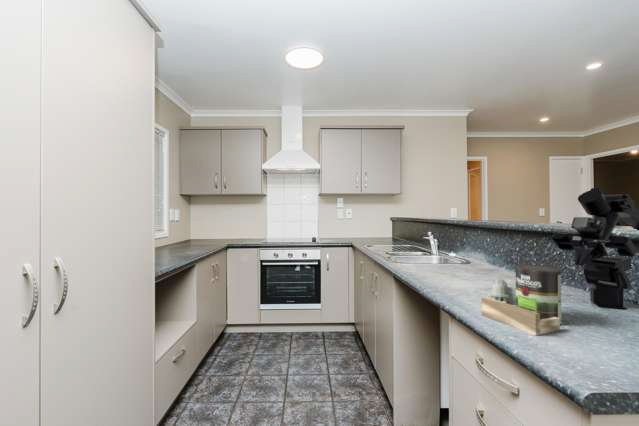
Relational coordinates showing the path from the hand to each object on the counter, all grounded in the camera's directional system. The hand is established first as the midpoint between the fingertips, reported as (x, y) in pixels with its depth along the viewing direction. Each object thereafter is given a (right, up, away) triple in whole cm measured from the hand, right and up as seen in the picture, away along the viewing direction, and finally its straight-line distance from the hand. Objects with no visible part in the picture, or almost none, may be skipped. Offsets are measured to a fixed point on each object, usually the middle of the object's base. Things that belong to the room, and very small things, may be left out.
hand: (577, 264), depth 87 cm
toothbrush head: (-13, -14, +17) cm, 25 cm away
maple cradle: (-23, -14, -8) cm, 28 cm away
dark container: (-16, -14, -6) cm, 22 cm away
